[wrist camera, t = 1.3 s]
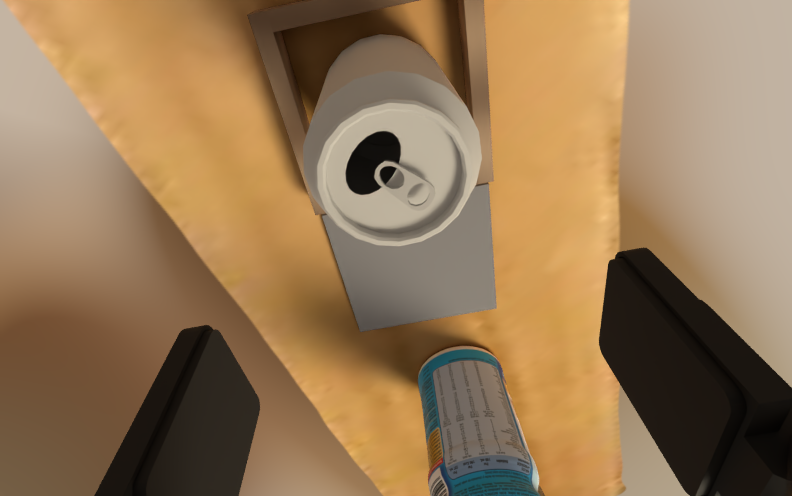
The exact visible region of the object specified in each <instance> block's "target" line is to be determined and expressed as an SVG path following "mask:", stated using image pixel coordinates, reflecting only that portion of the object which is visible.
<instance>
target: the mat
mask: <svg viewBox="0 0 792 496" xmlns="http://www.w3.org/2000/svg"><path fill="white" fill-rule="evenodd" d="M322 218H323V221H324V224H325V227H326V230H327V233H328V236H329V239H330V242H331V245H332V248H333V251H334V254H335V257H336V260H337V263H338V266H339V269H340V272H341V275H342V278H343V281H344V284H345V287H346V290H347V293H348V297H349V300H350V303H351V306H352V309H353V312H354V315H355V318H356V321H357V324H358V327H359V330H360V332H363V331H369V330H375V329H381V328H386V327H392V326H398V325H404V324H410V323H415V322H421V321H427V320H433V319H438V318H444V317H450V316H456V315H461V314H467V313H473V312H479V311H484V310H490V309H496V308H497V307H496V291H495V275H494V260H493V244H492V228H491V212H490V196H489V184H488V182H487V183H482V184H476V185H475V187H474V189H473V190H472V192H471V194H470V196H469V198H468V200H467V201H466V203H465V205H464V207H463V208H462V210H461V212H460V214H459V215H458V216H457V217H456V218H455V219H454V220H453V221H452V222H451V223H450V224H449V225H448V226H447V227H446V228H445V229H443V230H442V231H441V232H439V233H437V234H435V235H433V236H431V237H429V238H427V239H425V240H424V241H421V242H417V243H412V244H408V245H403V246H384V245H375V244H372V243H369V242H366V241H363V240H359V239H356V238H355V237H353V236H352V235H350V234H349V233H347V232H346V231H344V230H343V229H341V228H340V227H338V226H337V225H336V224H335V222H334V221H333V220H332V219H331V218H330V217H329V216H328V215H327V214H326V213H324V214H322Z"/></svg>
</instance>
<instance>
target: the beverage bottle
mask: <svg viewBox="0 0 792 496" xmlns="http://www.w3.org/2000/svg"><path fill="white" fill-rule="evenodd" d="M418 385H419V391H420V396H421V401H422V408H423V416H424V424H425V433H426V441H427V450H428V459H429V468H430V470H429V474H428V484H429V490H430V495H431V496H541V495H540V494H539V493H538V484H539V476H538V471H537V467H536V464H535V462H534V460H533V458H532V456H531V455H530V452H529V450H528V447H527V444H526V441H525V438H524V435H523V432H522V429H521V426H520V423H519V420H518V417H517V414H516V411H515V408H514V405H513V402H512V399H511V396H510V393H509V390H508V387H507V384H506V381H505V379H504V374H503V371H502V368H501V365H500V363H499V361H498V360H497V358H496V357H495V356H494V355H493V354H491V353H490V352H488V351H486V350H484V349H482V348H478V347H473V346H457V347H451V348H448V349H445V350H442V351H440V352H438V353H436V354H434V355H433V356H431V357H430V358H429V359H428V360H427V361H426V362H425V363H424V364H423V366H422V367H421V369H420V372H419V375H418Z"/></svg>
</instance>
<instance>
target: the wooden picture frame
mask: <svg viewBox="0 0 792 496" xmlns="http://www.w3.org/2000/svg"><path fill="white" fill-rule="evenodd" d="M414 1H419V0H303V1H298V2H294V3H289V4H285V5H280V6H276V7H271V8H267V9H262V10H258V11H255V12H252V13H250V14H248V15H247V16H248V19H249V21H250V24H251V27H252V30H253V33H254V36H255V39H256V42H257V45H258V48H259V51H260V54H261V57H262V60H263V63H264V66H265V68H266V71H267V74H268V77H269V80H270V83H271V86H272V89H273V92H274V95H275V98H276V101H277V104H278V107H279V110H280V112H281V115H282V118H283V121H284V124H285V127H286V130H287V133H288V136H289V139H290V142H291V145H292V148H293V151H294V154H295V157H296V159H297V162H298V165H299V168H300V171H301V174H302V177H303V180H304V183H305V186H306V189H307V192H308V195H309V198H310V201H311V203H312V206H313V209H314V212H315V215H319V214H324V213H325V211H324V210H323V209H322V208H321V207H320V205H319V204H318V203H317V202H316V200H315V199H314V198H313V196H312V193H311V190H310V188H309V185H308V183H307V180H306V177H305V175H304V161H303V145H304V142H305V138H306V135H307V132H308V129H309V126H310V125H309V121H308V118H307V115H306V112H305V108H304V105H303V102H302V99H301V95H300V92H299V89H298V86H297V82H296V79H295V76H294V72H293V69H292V66H291V63H290V59H289V56H288V53H287V50H286V46H285V43H284V40H283V37H282V33H281V30H286V29H290V28H295V27H299V26H304V25H309V24H313V23H318V22H322V21H327V20H332V19H336V18H341V17H345V16H350V15H355V14H359V13H364V12H368V11H373V10H378V9H382V8H387V7H391V6H396V5H401V4H405V3H410V2H414ZM457 1H458V12H459V24H460V35H461V47H462V59H463V70H464V82H465V93H466V105H467V108H468V110H469V113H470V115H471V117H472V119H473V121H474V123H475V125H476V127H477V129H478V131H479V137H480V146H481V154H482V160H481V165H480V170H479V174H478V179H477V183H476V184H482V183H487V182H492V181H494V177H493V159H492V141H491V123H490V105H489V87H488V69H487V51H486V33H485V15H484V0H457Z"/></svg>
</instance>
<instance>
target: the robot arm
mask: <svg viewBox="0 0 792 496" xmlns="http://www.w3.org/2000/svg"><path fill="white" fill-rule="evenodd" d="M599 346H600V350H601V352H602V355H603V357H604V358H605V360H606V362H607V363H608V365H609V367H610V368H611V370H612V371H613V373H614V375H615V376H616V378H617V380H618V381H619V383H620V385H621V386H622V388H623V390H624V391H625V393H626V394H627V396H628V398H629V400H630V401H631V403H632V405H633V406H634V408H635V409H636V411H637V413H638V414H639V416H640V418H641V419H642V421H643V423H644V424H645V426H646V428H647V429H648V431H649V432H650V434H651V436H652V438H653V439H654V441H655V443H656V444H657V446H658V448H659V449H660V451H661V453H662V454H663V456H664V458H665V459H666V461H667V463H668V464H669V466H670V468H671V469H672V471H673V472H674V474H675V476H676V477H677V479H678V481H679V482H680V484H681V486H682V487H683V489H684V490H685V492H686V493H687V494H689V495H690V496H792V388H791V387H790V386H789V385H788V384H787V383H786V382H785V381H784V380H783V379H782V378H781V377H780V376H779V375H778V374H777V373H776V372H775V371H774V370H773V369H772V368H771V367H770V366H769V365H768V364H767V363H766V362H765V361H764V360H763V359H762V358H761V357H760V356H759V355H758V354H757V353H756V352H755V351H754V350H753V349H752V348H751V347H750V346H749V345H748V344H747V343H746V342H745V341H744V340H743V339H742V338H741V337H740V336H738V334H737V333H736V332H734V330H733V329H732V328H731V327H730V326H729V325H728V324H727V323H726V322H725V321H724V320H722V319H721V317H720V316H718V315H717V313H716V312H715V311H714V310H713V309H711V307H709V306H708V305H707V304H706V303H705V302H703V301H702V300H699V299H698V298H697V297H696V296H695V295H694V294H693V293H692V292H691V291H690V290H689V289H688V288H687V287H686V286H685V285H684V284H683V283H682V282H681V281H680V280H679V279H678V278H677V277H676V276H675V275H674V274H673V273H672V272H671V271H670V270H669V269H668V268H667V267H666V266H665V265H664V264H663V263H662V262H661V261H660V260H659V259H658V258H657V257H656V256H655V255H654V254H653V253H652V252H651V251H650V250H649V249H647V248H639V249H633V250H627V251H622V252H618V253H617V254H616V256H615V259H613V260H610V261H609V264H608V271H607V279H606V287H605V295H604V303H603V311H602V320H601V328H600V336H599ZM259 411H260V402H259V398H258V396H257V394H256V393H255V391H254V389H253V388H252V386H251V384H250V383H249V381H248V379H247V377H246V376H245V374H244V372H243V370H242V369H241V367H240V365H239V364H238V362H237V360H236V359H235V357H234V355H233V353H232V352H231V350H230V348H229V347H228V345H227V343H226V341H225V340H224V338H223V336H222V335H221V333H220V332H219V331H218V330H213V329H212V328H211V327H210V326H209V325H204V326H199V327H194V328H187V329H184V330H182V331H181V332H180V333H179V335H178V337H177V339H176V341H175V343H174V345H173V346H172V348H171V350H170V352H169V354H168V356H167V358H166V360H165V362H164V364H163V366H162V368H161V369H160V371H159V373H158V375H157V377H156V379H155V381H154V383H153V385H152V387H151V389H150V390H149V392H148V394H147V396H146V398H145V400H144V402H143V404H142V406H141V408H140V410H139V411H138V413H137V415H136V417H135V419H134V421H133V423H132V425H131V427H130V429H129V431H128V432H127V434H126V436H125V438H124V440H123V442H122V444H121V446H120V448H119V450H118V452H117V453H116V455H115V457H114V459H113V461H112V463H111V465H110V467H109V469H108V471H107V473H106V475H105V476H104V479H103V480H102V482H101V484H100V486H99V488H98V490H97V492H96V494H95V496H239V492H240V487H241V483H242V480H243V475H244V472H245V468H246V464H247V460H248V456H249V452H250V448H251V443H252V440H253V436H254V432H255V428H256V424H257V420H258V416H259Z"/></svg>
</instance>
